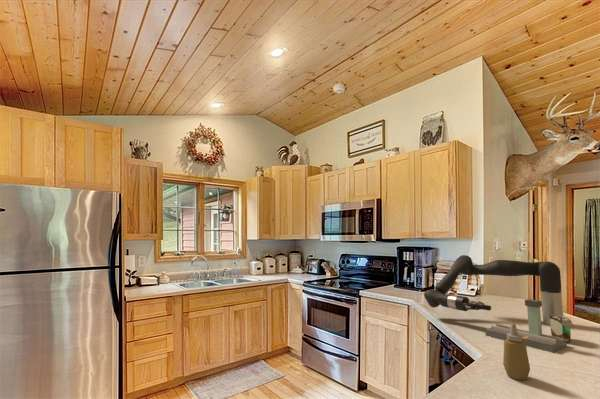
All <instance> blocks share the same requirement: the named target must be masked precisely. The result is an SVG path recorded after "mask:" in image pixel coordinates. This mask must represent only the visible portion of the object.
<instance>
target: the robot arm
mask: <svg viewBox="0 0 600 399" xmlns="http://www.w3.org/2000/svg"><path fill="white" fill-rule="evenodd" d="M459 275H463V276H499V277H522V276H537V277H539V289H540V301H542V306H541V312H542V313H541V314H542V315H541V317H542V323H543V324H544V325H548V326H550V320H549V315H558V316H564V306H563V297H562V296H563V294H562V278H561V270H560V267H559V266H558V265H557V264H556V263H554V262H552V261H533V262H532V261H530V262H529V261H521V260H511V259H497V260H495V259H494V260H493V261H490V262H488V263H484V264H473V260H472V258H471V257H470V256H469V255H465V254H463V255H460V256H458V257H457V258H456V259H455V261H454V263H453V264H452V265H451V267H450V269H449V270H447V272H446V273H445V275H444V276H443V277H442V278H441V280H439V281H438V283H437V284H436V285H435V286H434V289H432V288H431V289H427V290H426V291H424V294H423V296H424V298H425V300H426V302H427V304H428V305H429V306H430V307H431V308H433V309H434V308H437V307H439V306H441V307H443V308H444V307H445V308H449V309H453V310H456V311H462V312H468V311H469V310H472V311H474V310H475V311H480V310H484V311H491V310H492V306H491V305H488V304H485V303H484V302H482V301H479V300H478V301H475V300H470V299H469V297H467V296H462V295H455V294H448V292H449V291H450V290H451V289H452V288H453V287H454V285H455V282H456V281H457V278H458V277H459Z"/></svg>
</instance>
